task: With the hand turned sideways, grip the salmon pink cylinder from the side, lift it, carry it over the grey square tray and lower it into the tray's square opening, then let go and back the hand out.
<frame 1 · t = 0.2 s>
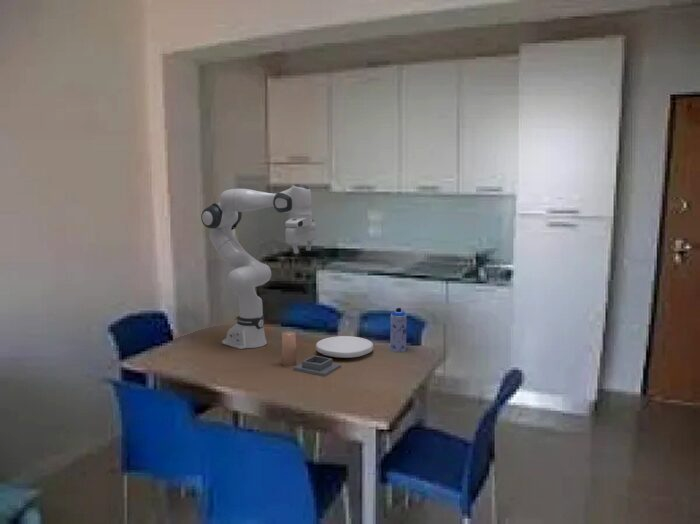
hand: (302, 251, 267), 48 cm above the table, tool pointing down, fingers open, 8 cm apart
grey square tray: (317, 368, 255), on the table
plate: (344, 353, 277), on the table
salmon pink cylinder: (289, 363, 261), on the table
aerosol can: (398, 349, 281), on the table
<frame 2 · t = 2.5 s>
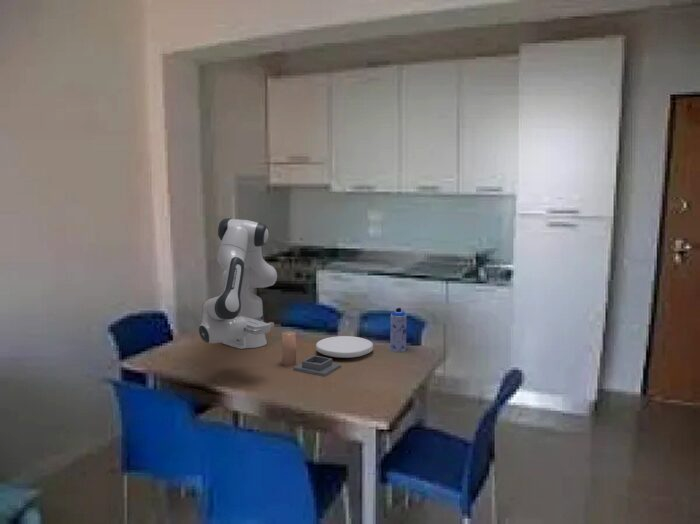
hand: (266, 322, 250), 21 cm above the table, tool horizontal, fingers open, 8 cm apart
nothing on the table moved.
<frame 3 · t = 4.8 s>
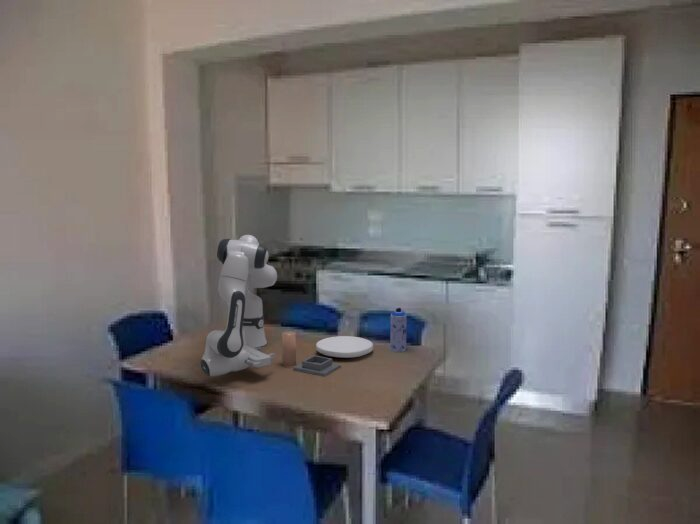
hand: (268, 352, 253), 8 cm above the table, tool horizontal, fingers open, 8 cm apart
nothing on the table moved.
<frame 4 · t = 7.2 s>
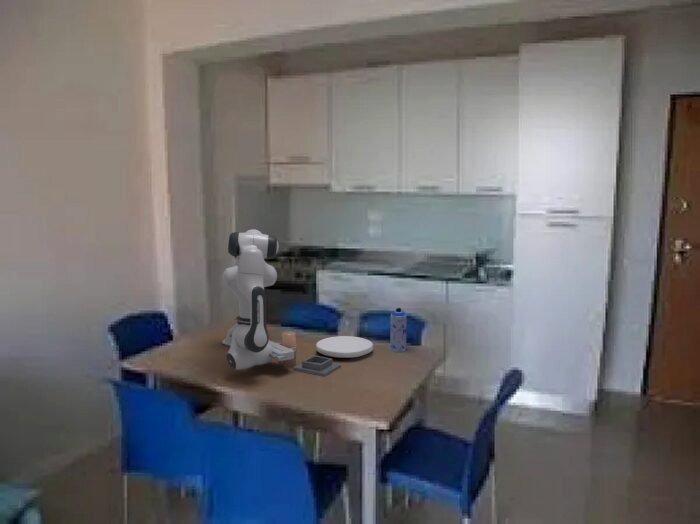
hand: (290, 346, 261), 8 cm above the table, tool horizontal, fingers closed on salmon pink cylinder, 6 cm apart
salmon pink cylinder: (289, 363, 261), on the table, touching gripper
everything else where it was.
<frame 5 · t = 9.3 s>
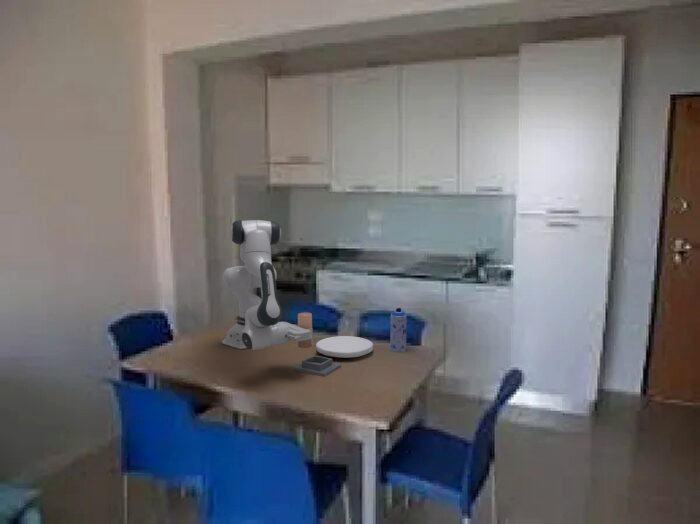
hand: (306, 328, 255), 17 cm above the table, tool horizontal, fingers closed on salmon pink cylinder, 6 cm apart
salmon pink cylinder: (305, 345, 255), point 10 cm above the table, touching gripper
everything else where it was.
when the fingers open (10 cm above the table, at t = 11.7 s): salmon pink cylinder drops 1 cm, resting on grey square tray.
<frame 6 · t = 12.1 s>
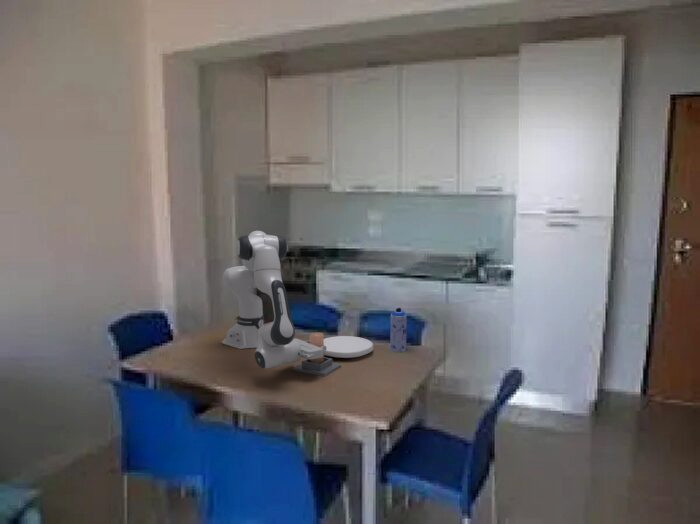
hand: (318, 344, 254), 10 cm above the table, tool horizontal, fingers open, 8 cm apart
salmon pink cylinder: (317, 365, 255), point 1 cm above the table, touching grey square tray
everything else where it was.
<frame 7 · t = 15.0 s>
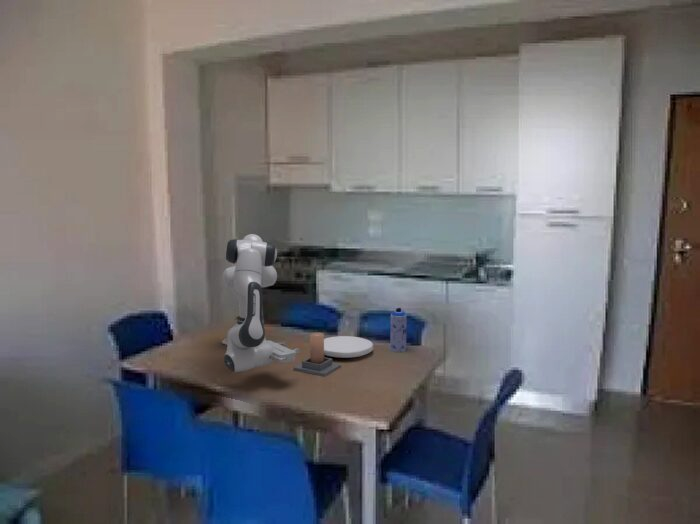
hand: (292, 347, 247), 12 cm above the table, tool horizontal, fingers open, 8 cm apart
nothing on the table moved.
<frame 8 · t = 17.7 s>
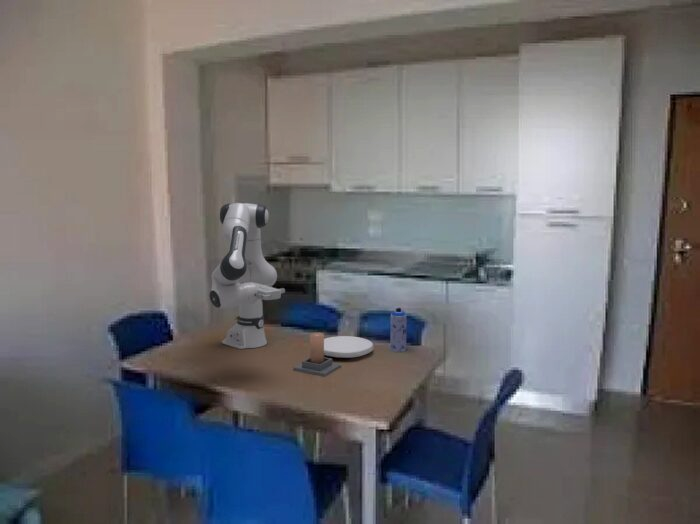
hand: (277, 288, 251), 35 cm above the table, tool horizontal, fingers open, 8 cm apart
nothing on the table moved.
at the end: salmon pink cylinder 0.1 cm off-centre on the grey square tray, point 1.2 cm above the grey square tray's base; salmon pink cylinder tilted 0°; the gripper is holding nothing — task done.
